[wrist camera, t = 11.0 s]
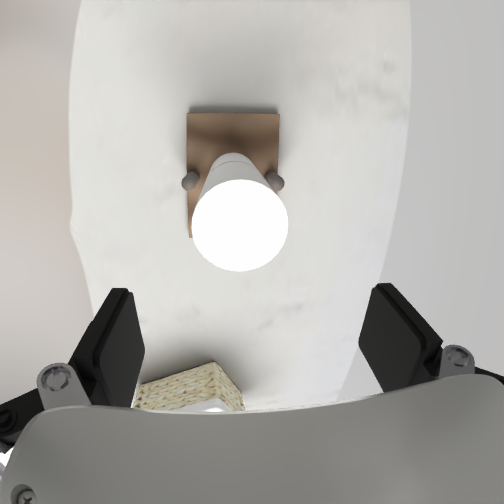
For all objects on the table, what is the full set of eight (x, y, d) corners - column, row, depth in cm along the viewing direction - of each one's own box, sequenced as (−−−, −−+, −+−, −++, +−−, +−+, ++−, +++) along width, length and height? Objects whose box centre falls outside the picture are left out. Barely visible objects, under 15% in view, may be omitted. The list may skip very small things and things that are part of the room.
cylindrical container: (264, 182, 45) (304, 241, 23) (225, 206, 46) (225, 286, 24) (240, 144, 43) (257, 160, 20) (200, 168, 44) (172, 213, 21)
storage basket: (219, 354, 60) (220, 408, 47) (250, 395, 67) (256, 444, 53) (133, 381, 62) (121, 429, 49) (170, 417, 69) (165, 461, 55)
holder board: (188, 114, 41) (181, 110, 35) (277, 114, 43) (287, 111, 36) (190, 234, 49) (184, 251, 42) (272, 234, 50) (280, 251, 44)
